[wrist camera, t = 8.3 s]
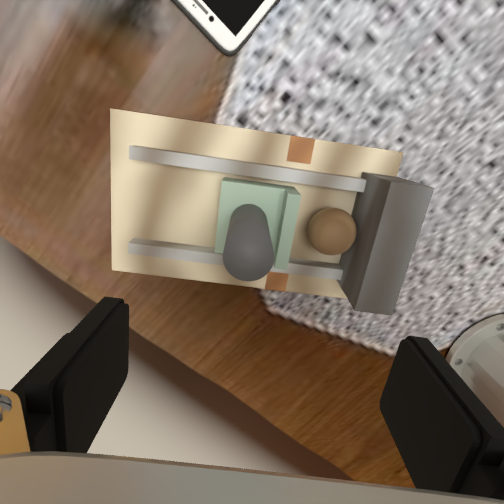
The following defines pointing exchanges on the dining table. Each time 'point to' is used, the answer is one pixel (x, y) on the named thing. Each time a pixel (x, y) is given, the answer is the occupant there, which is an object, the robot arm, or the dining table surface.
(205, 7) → the cell phone
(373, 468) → the dining table surface
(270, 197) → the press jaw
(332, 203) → the press frame
